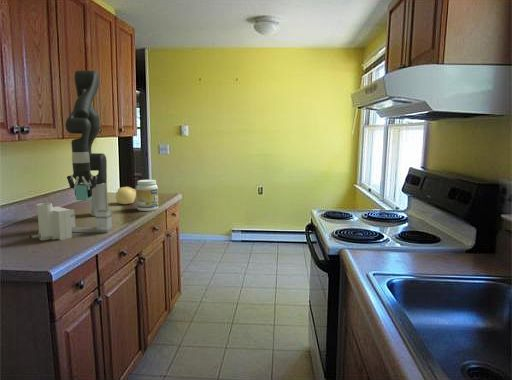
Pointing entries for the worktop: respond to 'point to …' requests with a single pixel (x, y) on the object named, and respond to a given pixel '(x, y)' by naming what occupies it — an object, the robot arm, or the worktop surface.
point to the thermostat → (53, 222)
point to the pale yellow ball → (125, 195)
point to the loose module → (82, 192)
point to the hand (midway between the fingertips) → (83, 197)
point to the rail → (89, 229)
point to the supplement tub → (147, 195)
